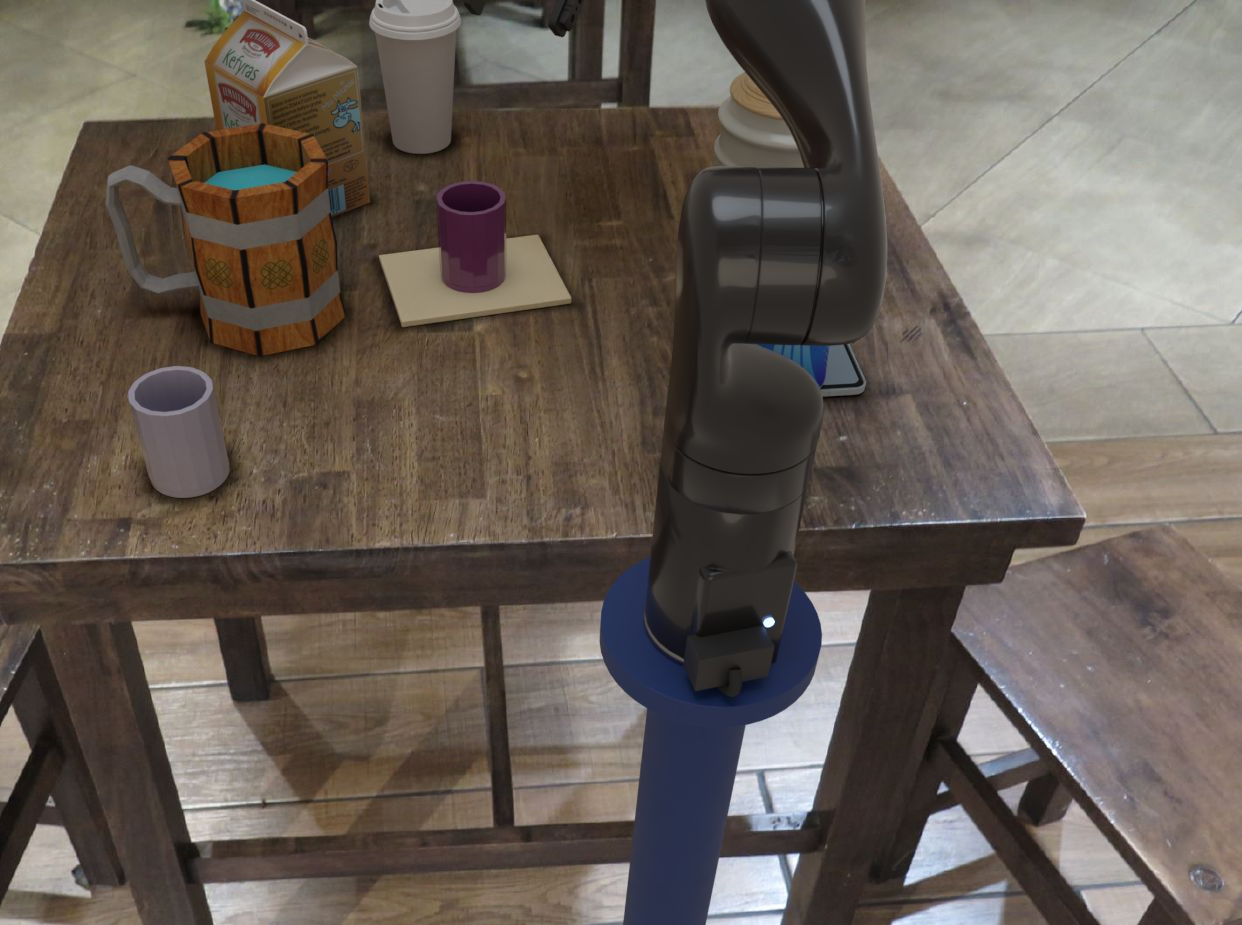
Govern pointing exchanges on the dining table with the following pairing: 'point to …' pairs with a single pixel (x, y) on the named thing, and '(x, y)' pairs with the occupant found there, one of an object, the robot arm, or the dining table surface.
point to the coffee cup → (417, 69)
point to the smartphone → (842, 373)
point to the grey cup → (179, 431)
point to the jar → (753, 130)
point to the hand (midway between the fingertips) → (512, 21)
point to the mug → (248, 236)
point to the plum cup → (472, 236)
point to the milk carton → (292, 93)
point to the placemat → (433, 301)
